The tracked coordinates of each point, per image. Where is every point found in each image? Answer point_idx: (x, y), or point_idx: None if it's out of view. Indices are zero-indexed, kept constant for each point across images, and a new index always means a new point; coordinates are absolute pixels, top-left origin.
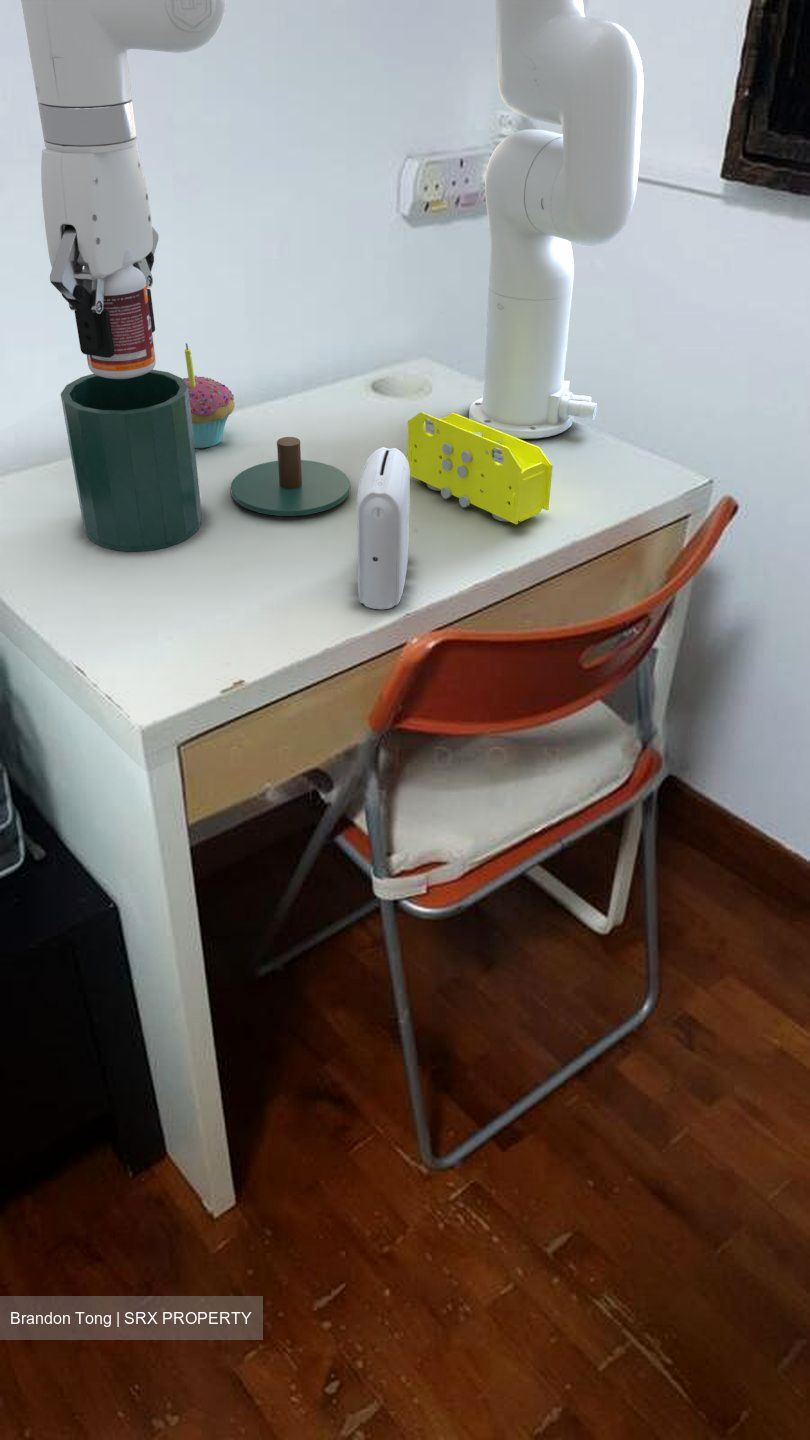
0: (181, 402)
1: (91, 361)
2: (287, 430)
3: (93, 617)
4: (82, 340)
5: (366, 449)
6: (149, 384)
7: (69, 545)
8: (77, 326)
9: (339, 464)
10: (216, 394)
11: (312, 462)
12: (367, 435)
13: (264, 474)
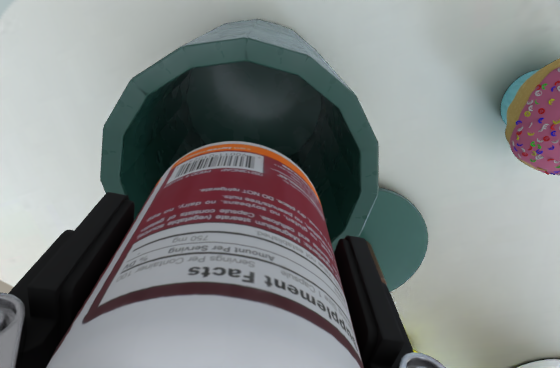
0: None
1: (156, 185)
2: (548, 202)
3: (24, 119)
4: (61, 237)
5: (476, 288)
6: (351, 185)
7: (175, 20)
8: (71, 238)
9: (436, 271)
10: (557, 164)
11: (419, 259)
12: (516, 283)
13: (383, 219)
